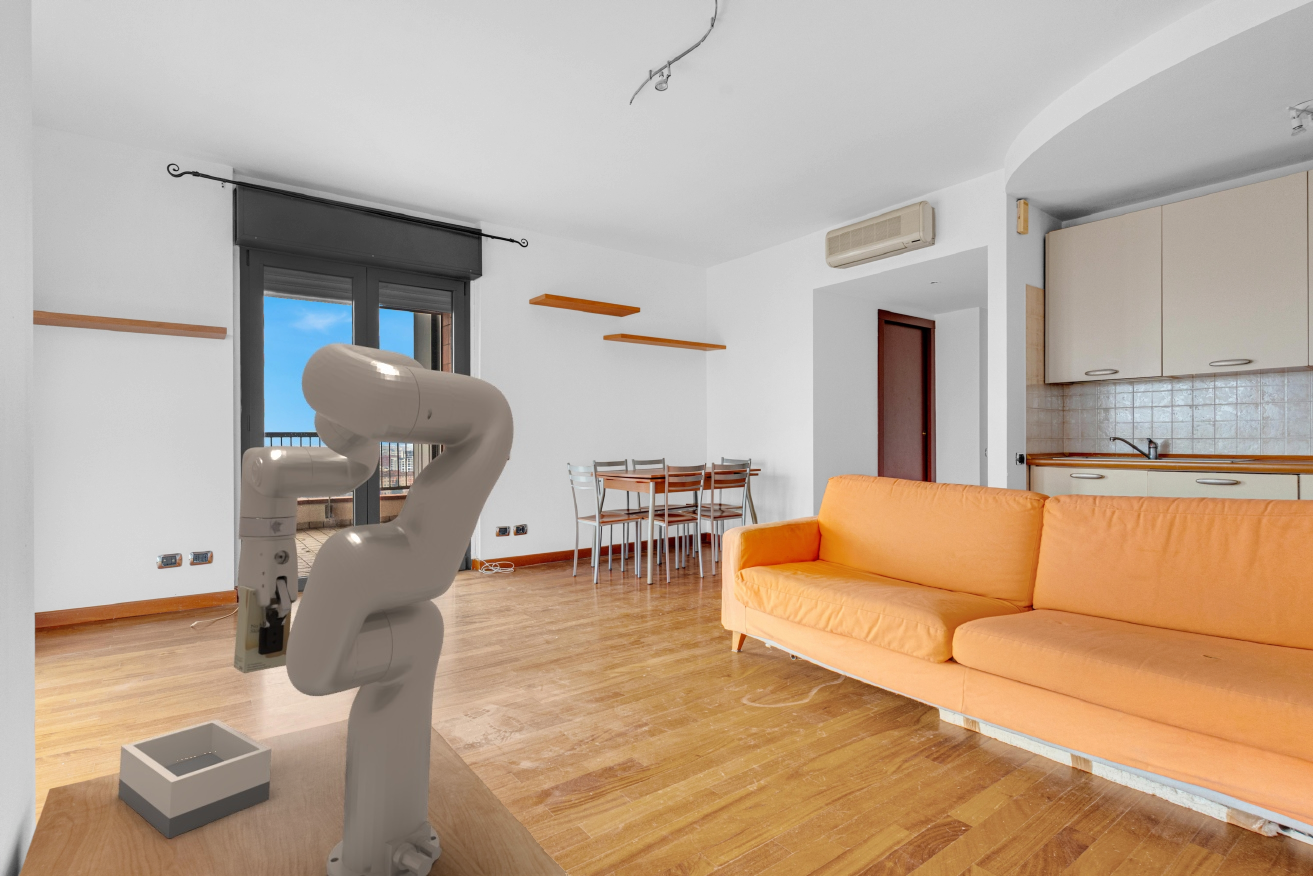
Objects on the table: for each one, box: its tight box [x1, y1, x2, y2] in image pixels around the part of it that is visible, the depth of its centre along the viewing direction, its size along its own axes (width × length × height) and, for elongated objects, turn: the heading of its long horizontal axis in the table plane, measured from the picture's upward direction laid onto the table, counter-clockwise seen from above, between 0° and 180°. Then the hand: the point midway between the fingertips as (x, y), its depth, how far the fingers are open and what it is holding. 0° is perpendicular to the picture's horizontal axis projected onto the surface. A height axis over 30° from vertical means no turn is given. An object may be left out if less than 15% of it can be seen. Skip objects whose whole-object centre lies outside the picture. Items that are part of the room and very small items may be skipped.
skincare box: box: [233, 586, 293, 674], centre depth 98 cm, size 6×4×12 cm
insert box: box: [117, 718, 272, 840], centre depth 91 cm, size 17×12×7 cm
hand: (262, 648), depth 98 cm, fingers closed on skincare box, 4 cm apart
